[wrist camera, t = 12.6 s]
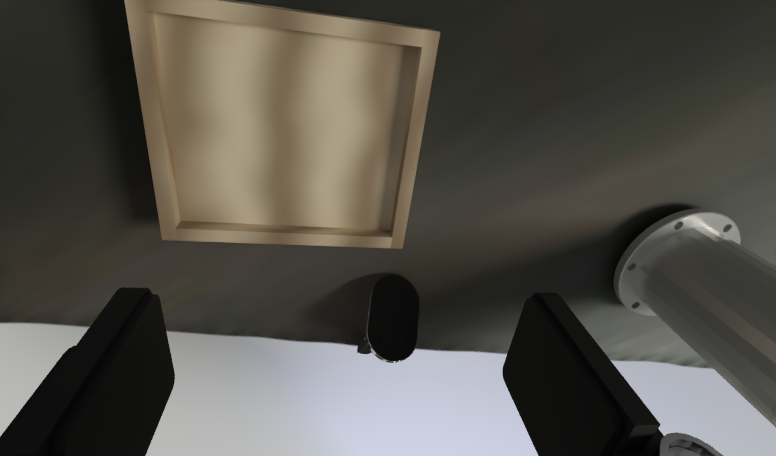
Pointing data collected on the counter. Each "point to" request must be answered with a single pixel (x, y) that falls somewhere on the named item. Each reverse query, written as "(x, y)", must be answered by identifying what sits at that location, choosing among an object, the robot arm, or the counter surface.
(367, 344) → the stand
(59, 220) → the counter surface
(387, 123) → the beech platter
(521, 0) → the counter surface
